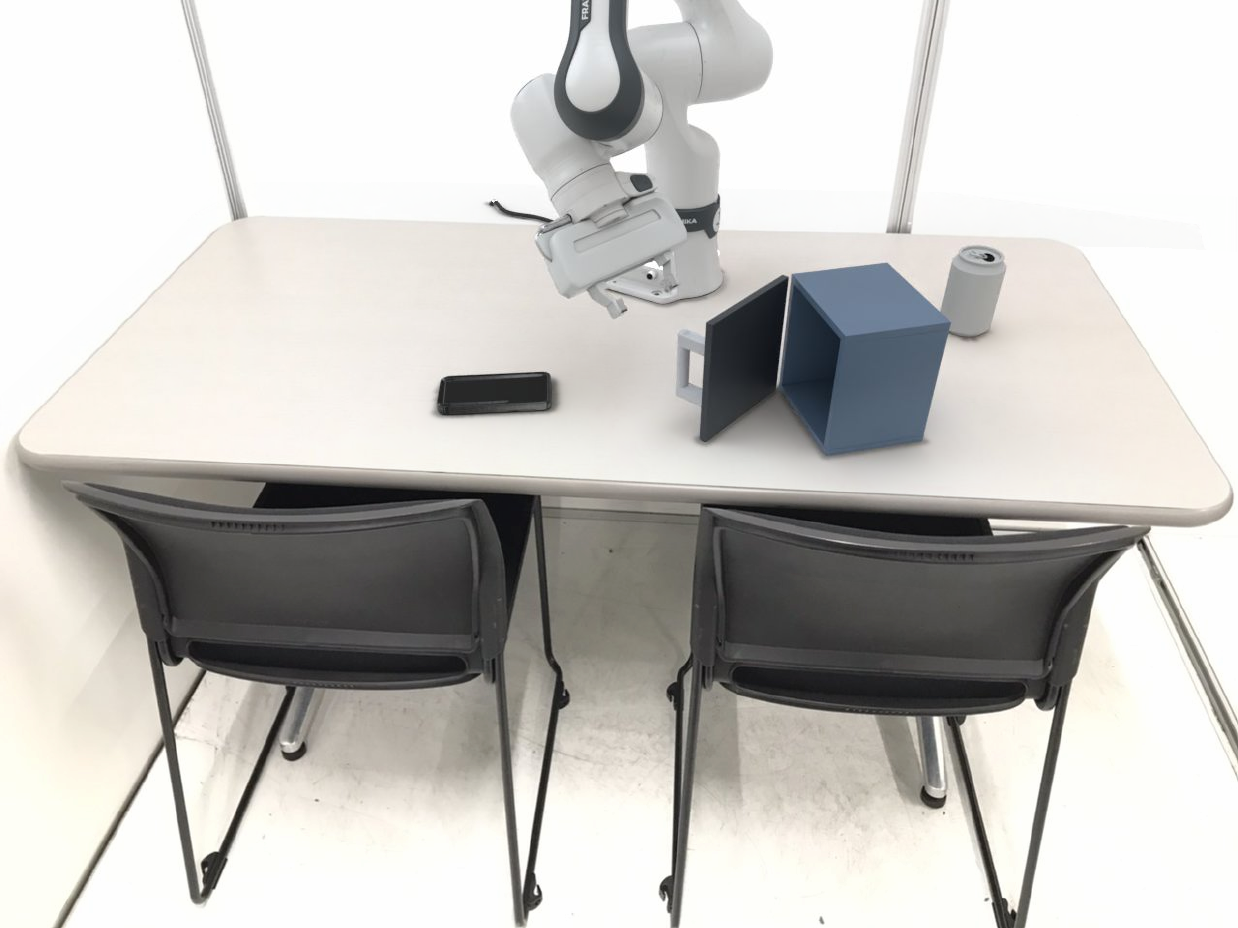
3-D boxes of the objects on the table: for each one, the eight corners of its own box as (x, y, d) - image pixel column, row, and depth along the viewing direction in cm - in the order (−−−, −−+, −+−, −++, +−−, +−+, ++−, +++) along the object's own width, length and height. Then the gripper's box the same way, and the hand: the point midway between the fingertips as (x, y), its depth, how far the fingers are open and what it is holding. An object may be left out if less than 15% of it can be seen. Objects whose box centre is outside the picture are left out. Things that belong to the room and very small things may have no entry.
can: (992, 341, 133) (1013, 266, 126) (939, 337, 134) (956, 262, 127) (986, 317, 139) (1006, 243, 132) (935, 312, 140) (952, 239, 133)
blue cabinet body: (825, 456, 112) (845, 336, 101) (778, 387, 124) (791, 273, 114) (922, 441, 114) (951, 322, 104) (866, 375, 126) (887, 262, 116)
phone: (441, 376, 125) (550, 371, 126) (442, 383, 126) (551, 377, 126) (436, 408, 119) (550, 402, 119) (437, 415, 119) (551, 410, 120)
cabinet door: (666, 423, 118) (669, 308, 107) (738, 372, 127) (747, 262, 117) (705, 442, 114) (712, 325, 104) (776, 388, 124) (789, 276, 113)
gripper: (539, 217, 105) (598, 322, 106) (662, 170, 116) (715, 266, 116) (518, 241, 110) (574, 341, 111) (638, 194, 121) (688, 285, 122)
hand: (647, 302), depth 114 cm, fingers open, 8 cm apart
